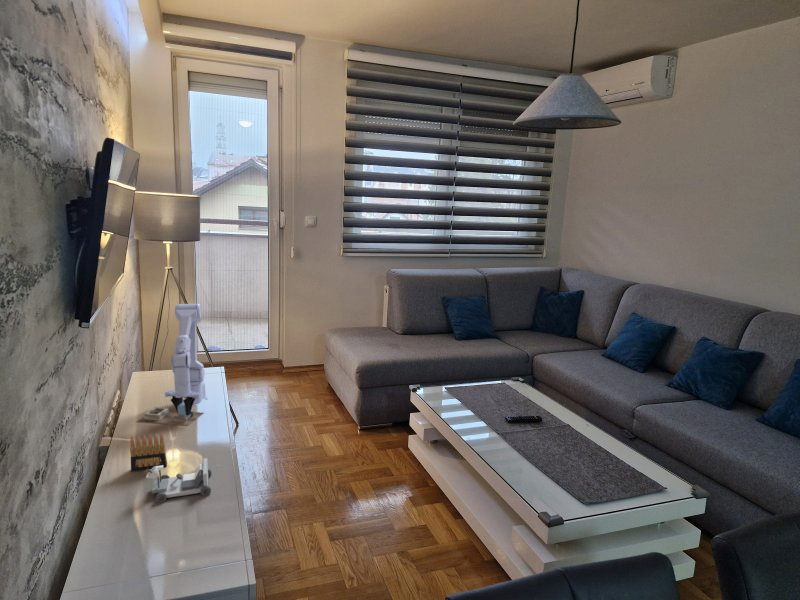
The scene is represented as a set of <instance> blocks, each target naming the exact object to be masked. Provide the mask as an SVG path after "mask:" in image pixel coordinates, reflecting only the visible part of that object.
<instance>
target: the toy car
mask: <svg viewBox="0 0 800 600" xmlns="http://www.w3.org/2000/svg"><path fill="white" fill-rule="evenodd" d="M208 464H209V463H208V458H207V457H205V458H203V463H199V465H198V468H197V469H196V471H195V472H192V473H185V474H183V475H182V474H181V473H177V474H176V476H174V477H170V476H169V475H168V474H163V475H162V471H163V470H164V468H163V465H161V466H154V467H153V468H152V469H147V470H146V471H147V474H146V476H145V478H146V479H155V480H153V484H152V488H151V494H156V496H155V501H156V503H162V502H163V503H164V502H166V500H167V498H173V497H174V498H175V497H181V496H188V495H193V494H195V495H196V494H200V495H201V496H206V495H210V494H211V493H212V487H210V486H209V478H210V477H211V476H212V470H211V468H209V465H208Z"/></svg>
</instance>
